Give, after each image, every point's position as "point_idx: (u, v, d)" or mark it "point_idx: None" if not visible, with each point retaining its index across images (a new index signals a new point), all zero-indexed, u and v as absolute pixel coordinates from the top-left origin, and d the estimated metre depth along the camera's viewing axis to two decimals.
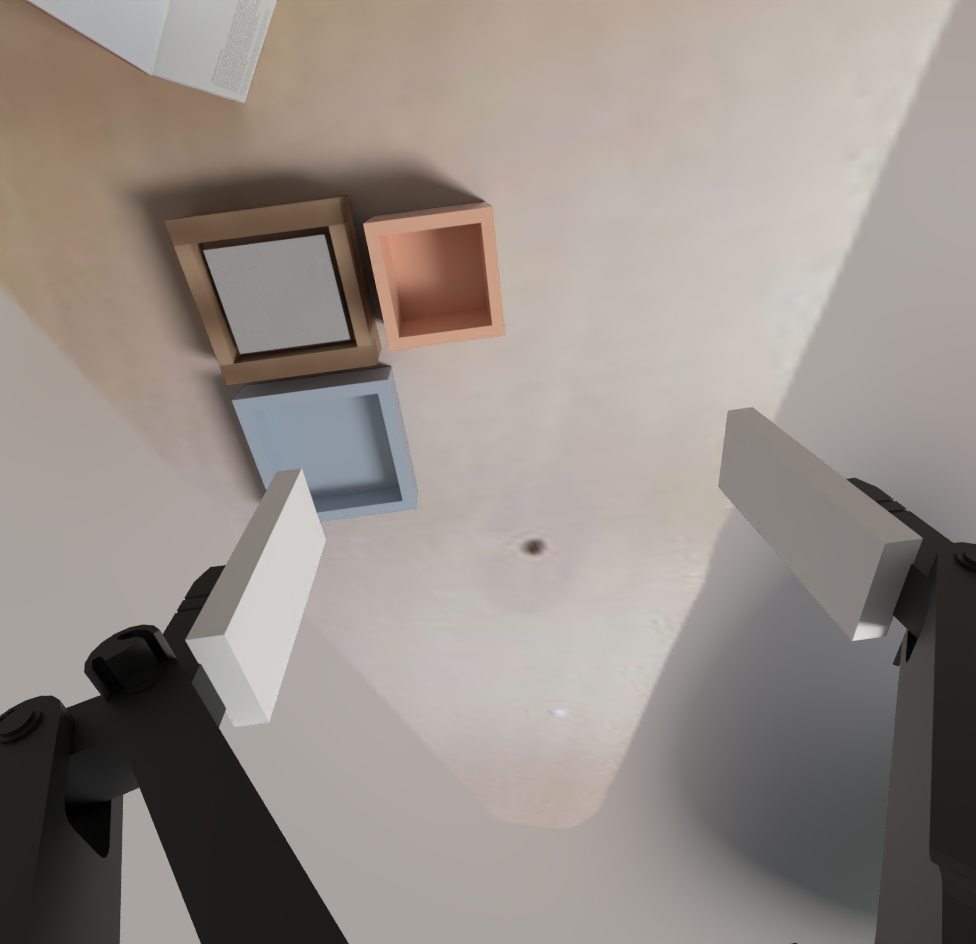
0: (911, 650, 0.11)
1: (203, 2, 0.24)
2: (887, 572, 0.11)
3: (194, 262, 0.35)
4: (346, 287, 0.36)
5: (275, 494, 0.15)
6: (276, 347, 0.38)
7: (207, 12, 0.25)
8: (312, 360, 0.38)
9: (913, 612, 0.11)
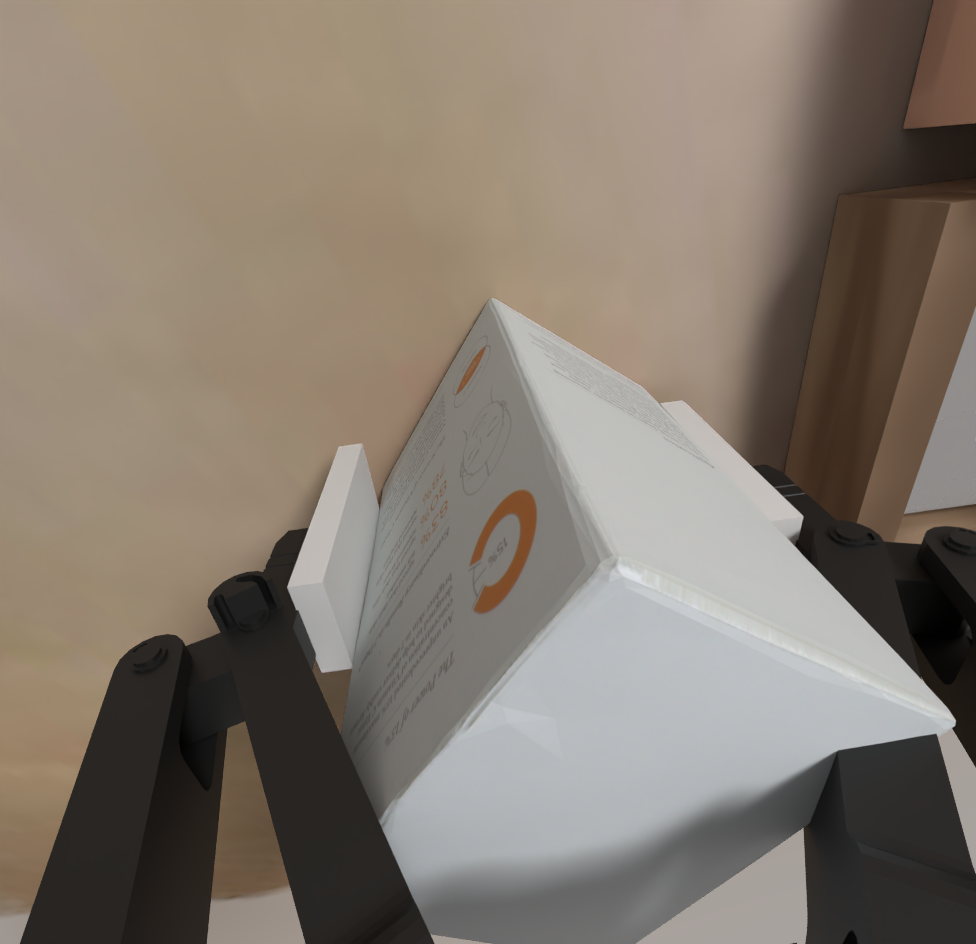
0: None
1: (679, 496, 0.09)
2: None
3: None
4: None
5: (342, 466, 0.16)
6: None
7: (674, 480, 0.09)
8: None
9: None
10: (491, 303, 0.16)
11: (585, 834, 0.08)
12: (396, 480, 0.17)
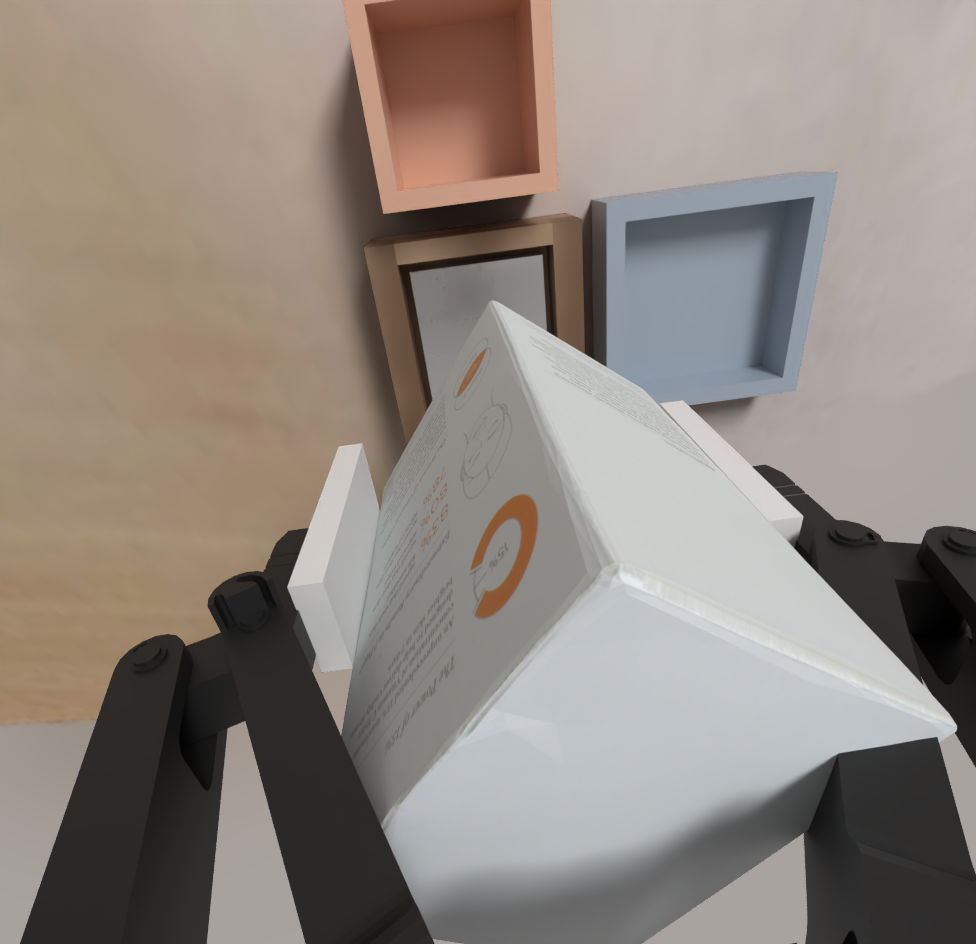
0: None
1: (681, 500, 0.09)
2: None
3: None
4: (472, 250, 0.27)
5: (342, 466, 0.16)
6: None
7: (675, 484, 0.09)
8: (566, 310, 0.29)
9: None
10: (492, 305, 0.16)
11: (585, 839, 0.08)
12: (396, 482, 0.17)
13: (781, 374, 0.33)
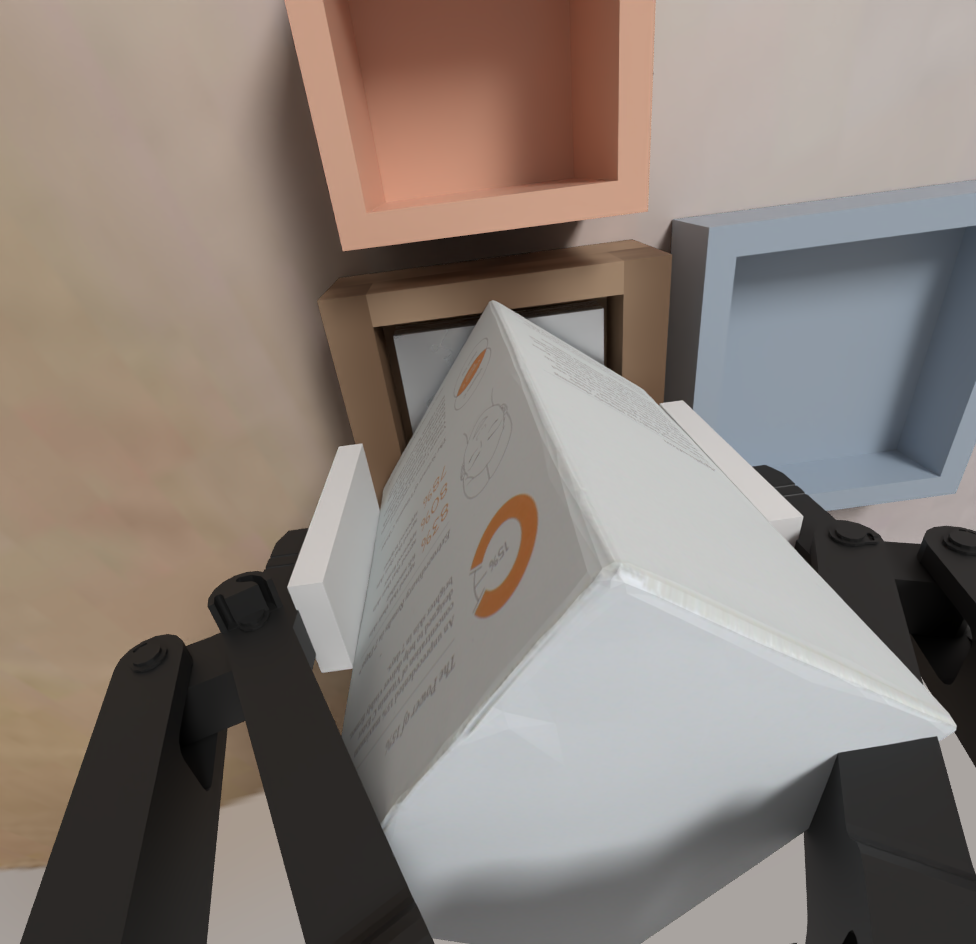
0: None
1: (680, 501, 0.09)
2: None
3: None
4: None
5: (342, 466, 0.16)
6: None
7: (675, 483, 0.09)
8: None
9: None
10: (492, 305, 0.16)
11: (585, 837, 0.08)
12: (396, 482, 0.17)
13: (937, 472, 0.23)
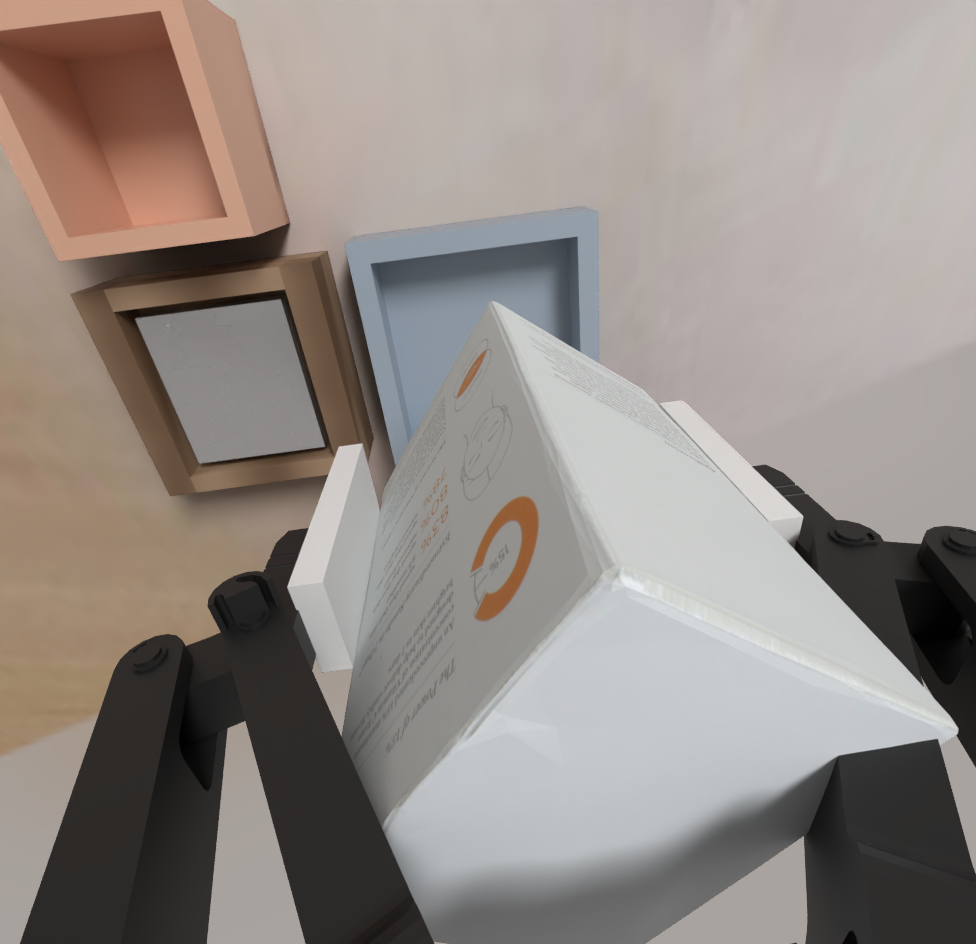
0: None
1: (681, 502, 0.09)
2: None
3: (210, 475, 0.29)
4: (194, 296, 0.24)
5: (342, 466, 0.16)
6: (309, 402, 0.28)
7: (676, 486, 0.09)
8: (316, 358, 0.26)
9: None
10: (492, 306, 0.16)
11: (586, 840, 0.08)
12: (396, 483, 0.17)
13: None
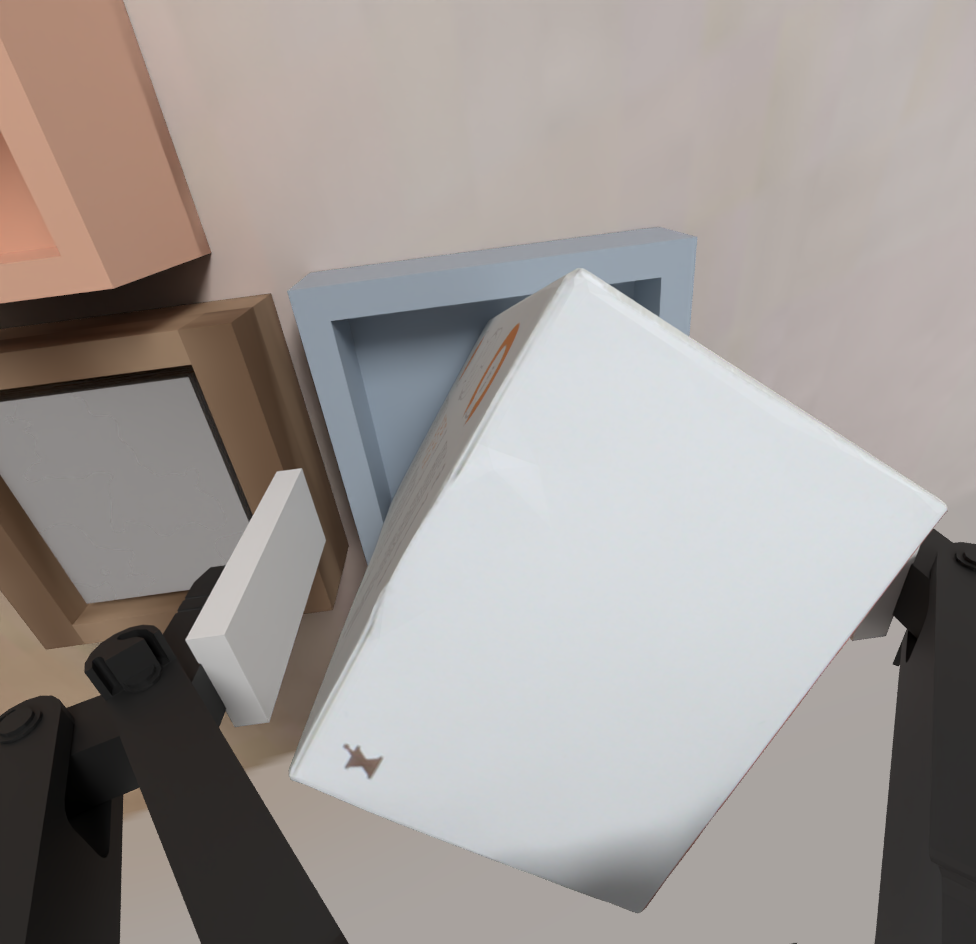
0: (911, 650, 0.11)
1: None
2: None
3: (102, 622, 0.20)
4: (43, 376, 0.15)
5: (275, 494, 0.15)
6: (245, 521, 0.19)
7: None
8: (249, 464, 0.17)
9: (913, 612, 0.11)
10: (491, 318, 0.18)
11: (582, 649, 0.07)
12: (402, 482, 0.18)
13: None
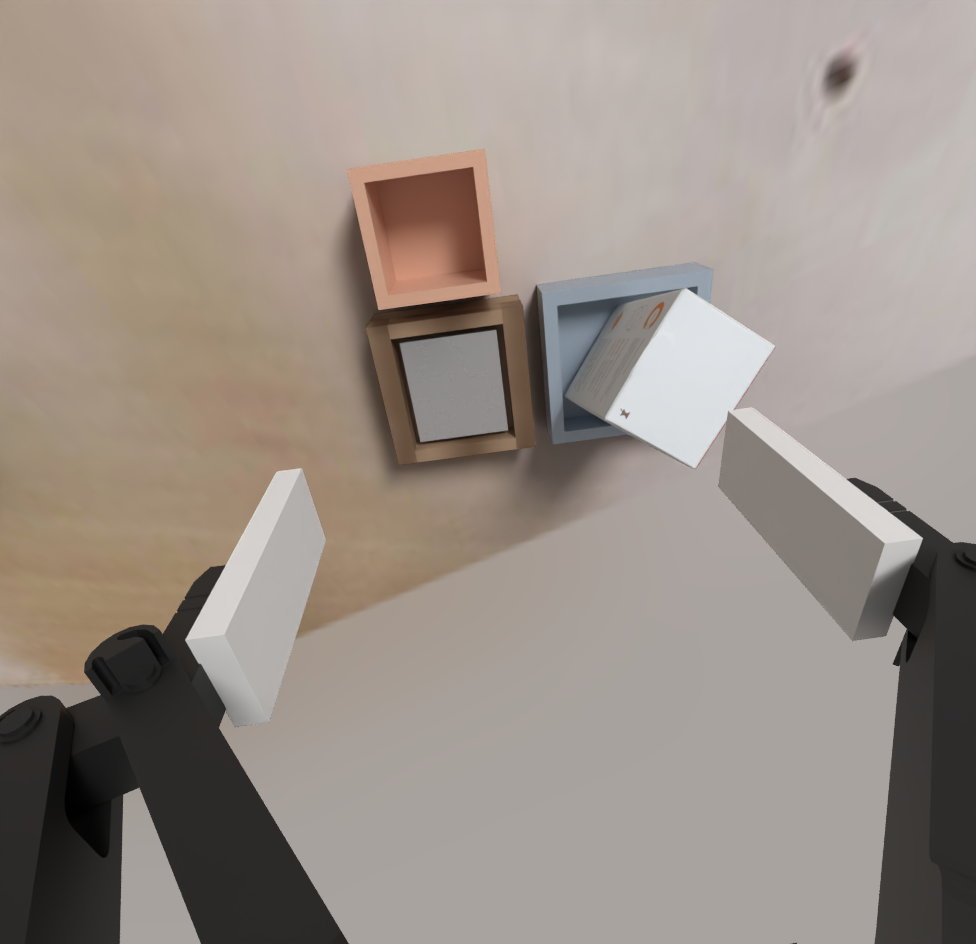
0: (911, 650, 0.11)
1: None
2: (887, 572, 0.11)
3: (428, 450, 0.42)
4: (444, 328, 0.37)
5: (274, 494, 0.15)
6: (502, 399, 0.40)
7: None
8: (515, 369, 0.39)
9: (913, 612, 0.11)
10: (618, 305, 0.39)
11: (682, 382, 0.29)
12: (578, 379, 0.39)
13: None
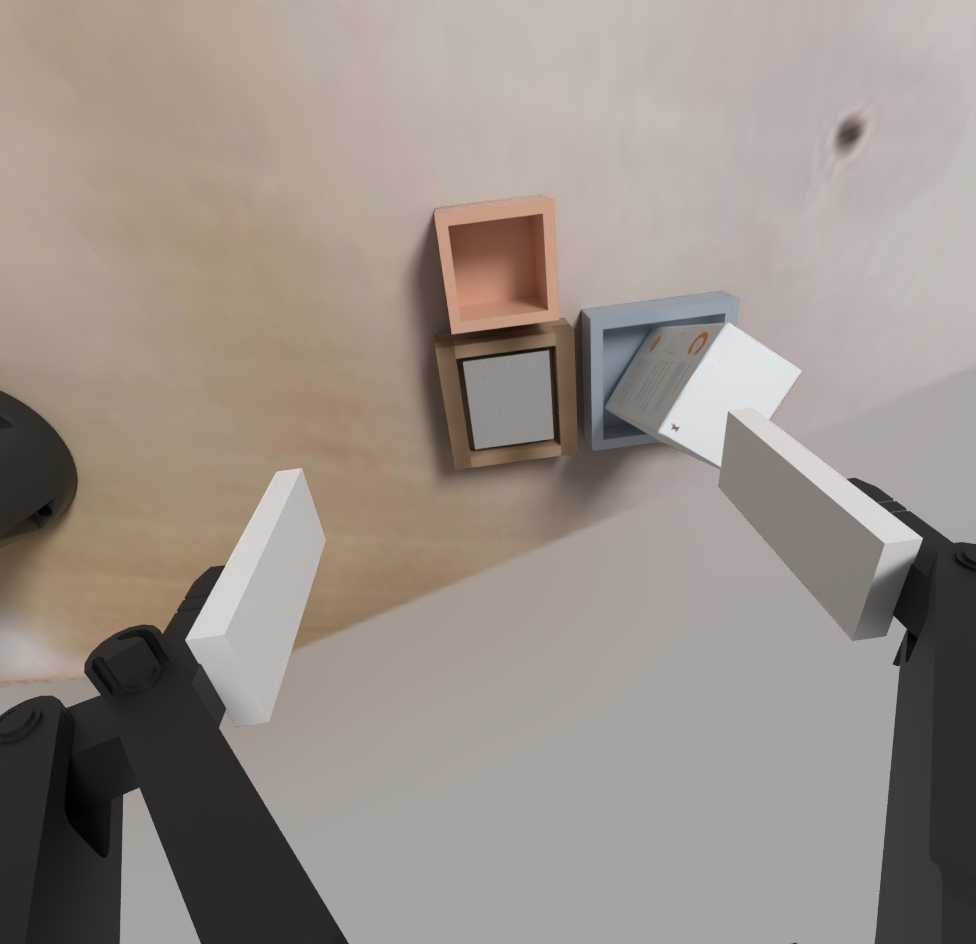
0: (911, 650, 0.11)
1: None
2: (887, 572, 0.11)
3: (482, 456, 0.46)
4: (504, 349, 0.42)
5: (275, 494, 0.15)
6: (551, 411, 0.45)
7: None
8: (564, 385, 0.44)
9: (913, 612, 0.11)
10: (654, 328, 0.45)
11: (724, 401, 0.34)
12: (619, 393, 0.45)
13: None
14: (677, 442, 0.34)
